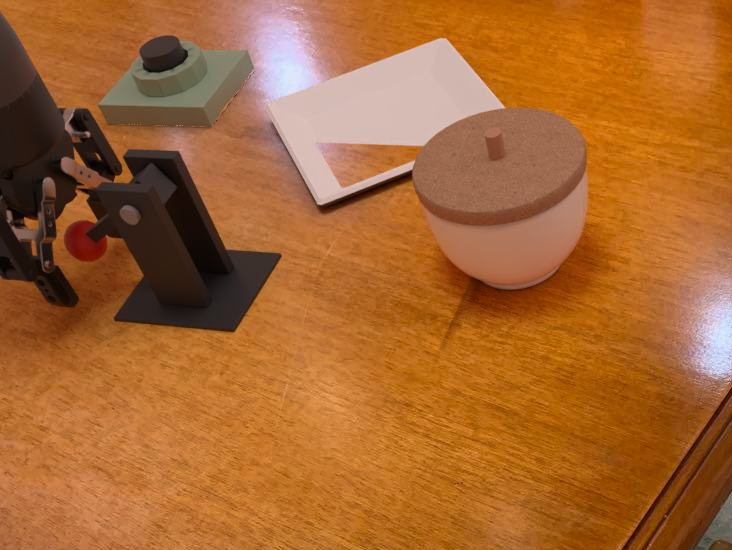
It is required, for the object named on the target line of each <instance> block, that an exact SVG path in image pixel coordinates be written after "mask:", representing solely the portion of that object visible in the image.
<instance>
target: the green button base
mask: <svg viewBox="0 0 732 550" xmlns="http://www.w3.org/2000/svg"><path fill="white" fill-rule="evenodd" d="M179 41H180V43H181V45H182V48H183V50H184V52H185V54H186V57H187V59H186V60H185V61H184V62H183V63H182V64H180V65H179V66H177V67H175V68H173V69H172V70H168V71H164V72H161V73H149V72H148V71H147V68H146V66H145V64H144V62H143V60H142V58H141V56H140V54H139V55H138V56H137V57H136V59H134V61H133V62H131V65H130V67H129V68H128V69H127V71H126V72H125V73H124V74H123V75H122V76H121V77H120V78H119V79H118V81H117V82H116V83H115V84H114V86H113V87H112V88H111V89H110V90H109V91H108V92H107V93H106V94H105V96H104V97H103V98H102V99H101V100H100V102H98V104H97V107H98V108H99V110H100V112H101V115H102V116H103V118H104V119H105V122H106V123H107V125H108V124H126V125H125V126H128V125H127V124H130V125H129V126H138V125H140V124H141V125H163V126H162V127H171V126H176V125H178V126H179V125H181V126H182V125H183V126H204V127H205V126H206V127H207V126H208V127H212V125H213V124H214V123H215V121H216V119H217V118H218V117H219V115H220V113H221V111H222V110H223V108H224V107H225V106H226V104H227V103H228V102H229V101H230V99H231V98H232V97H233V96H234V95H235V94H236V92H237V91H238V90H239V89H240V88H241V86H242V84H243V83H244V82H245V80H246V79H247V78H248V76H249V74H250V73H251V72H252V70H253V69H255V65H254V63H253V61H252V58H251V56H250V53H249V51H248V49H201V47H200V46H199V45H197V44H196V43H194V42H192V41H190V40H179ZM132 124H133V125H132ZM134 124H135V125H134ZM137 124H138V125H137ZM215 124H216V123H215ZM215 124H214V125H215ZM164 125H165V126H164ZM166 125H167V126H166ZM204 127H203V128H204ZM212 128H213V127H212Z"/></svg>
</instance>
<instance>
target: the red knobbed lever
mask: <svg viewBox="0 0 732 550" xmlns="http://www.w3.org/2000/svg"><path fill="white" fill-rule="evenodd" d="M128 183H133V184H153V186H154V187H155V189H156V191H157V193H158V195H159V197H160V199H161V201H162V203H163V205H165V204H166V202H167V201H168V200H169V198H170V197H171V196H172V194H173V193H174V192H175V190H176V189H177V186H176V185H175V184H174V183H173V182H172V181H171V180H170V179H169V178H167V177H166V176H165V175H164V174H163V173H162V172H161V171H160V170H159V169H158V168H157V167H156V166H155V165H154V164H153V163H150V164H149V165H148V166H147V167H145V168H144V169H143V170H142V171H140V172H139V173H138V174H137V175H136V176H134V177H133V176H132V178H131V180H130V181H129V182H128ZM115 228H116V226H115V224H114V222H113V221H112V219H111V217H110V216H109V214H108V213H107V214H106V215H105V216H104V217H102V218H101V219H100V220H99V221H98V220H97V221H96V222H93V221H90V220H87V219H80V220H76V221H73V222H72V223H70V224H69V225H68V226H67V227H66V229H65V232H64V234H63V244H64V247H65V250H66V251H67V253H69V255H71V257H73V258H74V259H76V260H77V261H80V262H85V263H93V262H96V261H97V260H99V259H101V258H102V257H103V256H104V255H105V254H106V252H107V249H108V238H107V237H108V236H107V234H109V233H110V232H111V231H112V230H114V229H115Z"/></svg>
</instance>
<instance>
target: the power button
mask: <svg viewBox="0 0 732 550" xmlns="http://www.w3.org/2000/svg"><path fill="white" fill-rule="evenodd" d="M180 41H181V40H180V39H179V37H177V36H175V35H172V34H171V35H169V34H167V35H159V36H157V37H154V38H151V39H149V40H147V41H146V42H145V43H143V44H142V45H141V46H140V47H139V52H138V53H139V55H140V56H141V58H142V60H143V62H144V64H145V66H146V68H147V71H148V72H149V73H161V72H164V71H168V70H172V69H173V68H175V67H177V66H179V65H180V64H182V63H183V62H184V61H185V60H186V59H187V57H186V54H185V52H184V50H183V48H182V45H181V43H180Z"/></svg>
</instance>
